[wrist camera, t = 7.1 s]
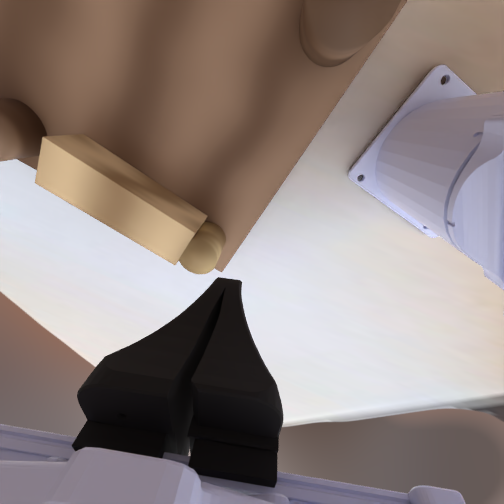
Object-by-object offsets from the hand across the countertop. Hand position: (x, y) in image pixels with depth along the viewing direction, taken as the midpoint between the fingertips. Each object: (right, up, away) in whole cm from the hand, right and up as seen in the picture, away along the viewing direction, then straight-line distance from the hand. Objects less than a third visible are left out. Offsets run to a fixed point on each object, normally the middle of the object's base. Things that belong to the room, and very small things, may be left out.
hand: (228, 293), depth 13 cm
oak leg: (-6, +6, +5) cm, 10 cm away
